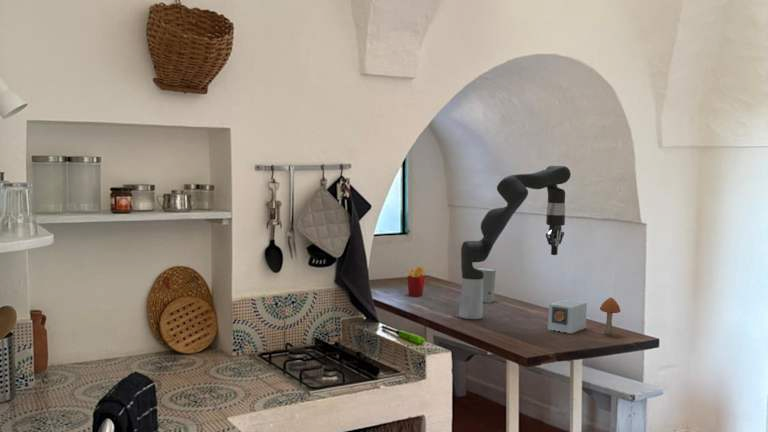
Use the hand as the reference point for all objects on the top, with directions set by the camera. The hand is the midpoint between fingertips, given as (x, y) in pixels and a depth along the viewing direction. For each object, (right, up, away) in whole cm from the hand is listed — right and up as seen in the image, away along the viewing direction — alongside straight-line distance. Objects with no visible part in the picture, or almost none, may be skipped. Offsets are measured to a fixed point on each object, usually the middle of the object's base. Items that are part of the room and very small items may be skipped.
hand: (554, 254), depth 319 cm
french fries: (-55, -24, +58) cm, 83 cm away
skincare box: (-23, -25, +47) cm, 58 cm away
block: (+3, -30, -8) cm, 31 cm away
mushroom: (+18, -31, -17) cm, 40 cm away
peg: (+3, -25, -10) cm, 27 cm away
